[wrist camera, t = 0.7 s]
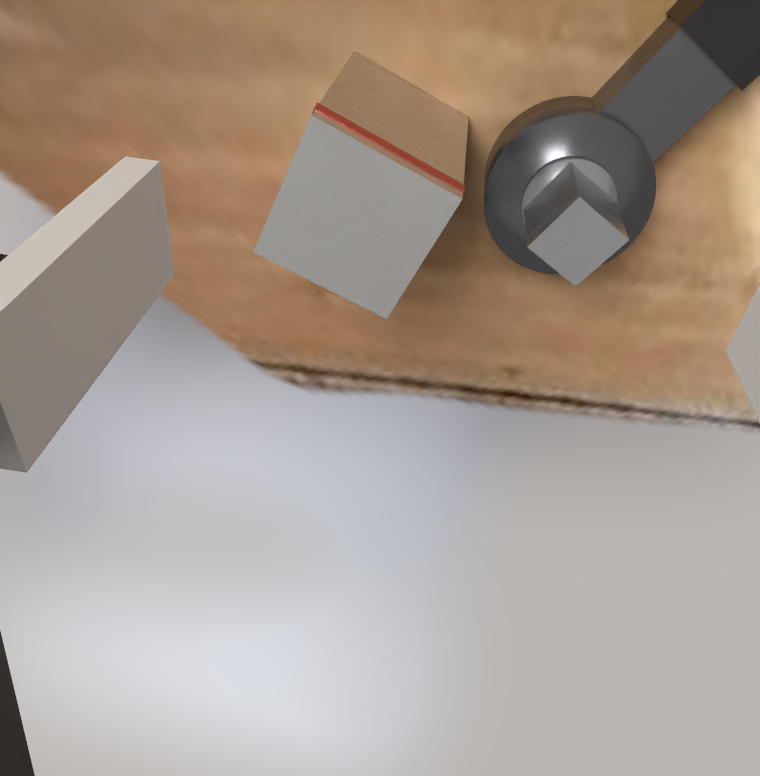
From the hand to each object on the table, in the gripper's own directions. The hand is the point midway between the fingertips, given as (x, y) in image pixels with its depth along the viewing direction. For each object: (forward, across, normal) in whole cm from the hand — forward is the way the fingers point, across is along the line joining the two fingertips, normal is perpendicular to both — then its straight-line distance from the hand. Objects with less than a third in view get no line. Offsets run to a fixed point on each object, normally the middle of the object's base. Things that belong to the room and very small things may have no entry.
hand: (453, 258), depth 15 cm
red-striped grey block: (+21, -4, -5) cm, 22 cm away
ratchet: (+21, +10, 0) cm, 23 cm away
